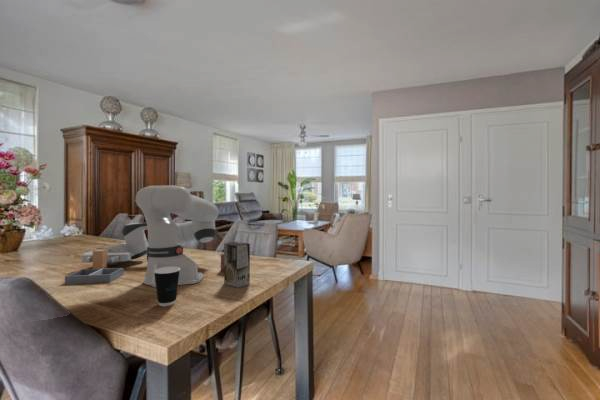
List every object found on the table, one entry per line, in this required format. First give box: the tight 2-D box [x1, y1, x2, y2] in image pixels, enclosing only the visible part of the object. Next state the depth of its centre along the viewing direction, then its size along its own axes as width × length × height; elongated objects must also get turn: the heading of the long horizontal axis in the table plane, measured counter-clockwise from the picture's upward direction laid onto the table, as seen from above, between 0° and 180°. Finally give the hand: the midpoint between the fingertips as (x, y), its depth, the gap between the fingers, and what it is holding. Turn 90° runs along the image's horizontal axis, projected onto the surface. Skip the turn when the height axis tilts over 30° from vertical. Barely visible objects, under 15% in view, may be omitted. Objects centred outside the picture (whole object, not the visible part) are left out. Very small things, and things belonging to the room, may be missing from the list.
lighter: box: [220, 248, 224, 272], centre depth 134 cm, size 8×3×10 cm, turn 71°
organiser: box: [64, 267, 124, 285], centre depth 120 cm, size 16×12×3 cm
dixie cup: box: [153, 267, 180, 307], centre depth 93 cm, size 8×8×11 cm
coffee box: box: [223, 241, 251, 289], centre depth 114 cm, size 9×6×16 cm
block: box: [92, 249, 108, 269], centre depth 131 cm, size 4×4×10 cm
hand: (99, 260), depth 130 cm, fingers open, 8 cm apart
